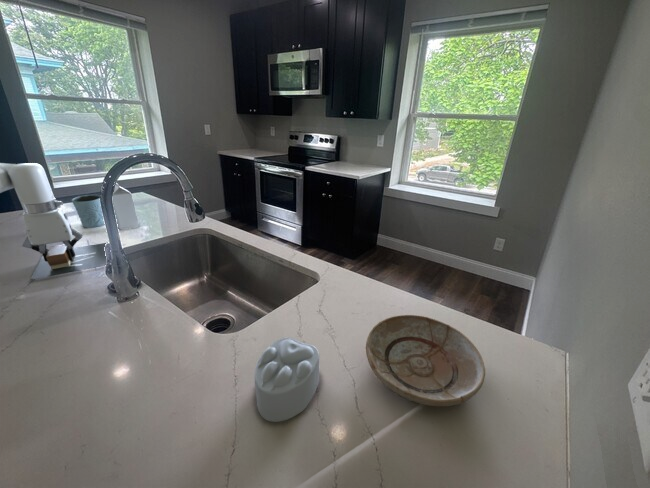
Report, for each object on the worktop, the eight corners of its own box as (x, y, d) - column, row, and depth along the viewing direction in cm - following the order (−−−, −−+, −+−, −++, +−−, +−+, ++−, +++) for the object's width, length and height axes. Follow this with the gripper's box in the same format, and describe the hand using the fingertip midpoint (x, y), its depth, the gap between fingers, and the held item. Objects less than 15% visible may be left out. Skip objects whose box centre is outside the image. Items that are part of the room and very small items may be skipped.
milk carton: (135, 222, 132) (124, 180, 124) (140, 227, 128) (129, 183, 120) (116, 226, 128) (104, 182, 120) (120, 231, 123) (108, 186, 115)
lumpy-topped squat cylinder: (324, 376, 61) (326, 344, 57) (292, 433, 50) (291, 398, 46) (281, 358, 64) (279, 327, 61) (242, 408, 54) (238, 374, 50)
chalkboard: (31, 283, 87) (30, 280, 87) (44, 255, 103) (43, 252, 102) (112, 266, 97) (111, 264, 97) (113, 244, 112) (113, 241, 112)
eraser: (69, 265, 94) (64, 253, 92) (51, 269, 92) (45, 256, 90) (72, 255, 100) (67, 243, 98) (55, 258, 98) (50, 246, 96)
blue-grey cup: (103, 218, 135) (96, 193, 130) (113, 224, 130) (105, 197, 125) (76, 225, 128) (67, 198, 123) (86, 231, 122) (76, 203, 117)
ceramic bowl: (360, 328, 74) (361, 311, 72) (454, 332, 74) (459, 316, 72) (369, 415, 53) (372, 396, 51) (501, 422, 53) (510, 403, 51)
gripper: (77, 199, 95) (94, 250, 103) (5, 207, 87) (29, 261, 95) (75, 206, 89) (93, 259, 97) (-3, 214, 81) (23, 272, 89)
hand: (61, 260), depth 96 cm, fingers closed on eraser, 4 cm apart
